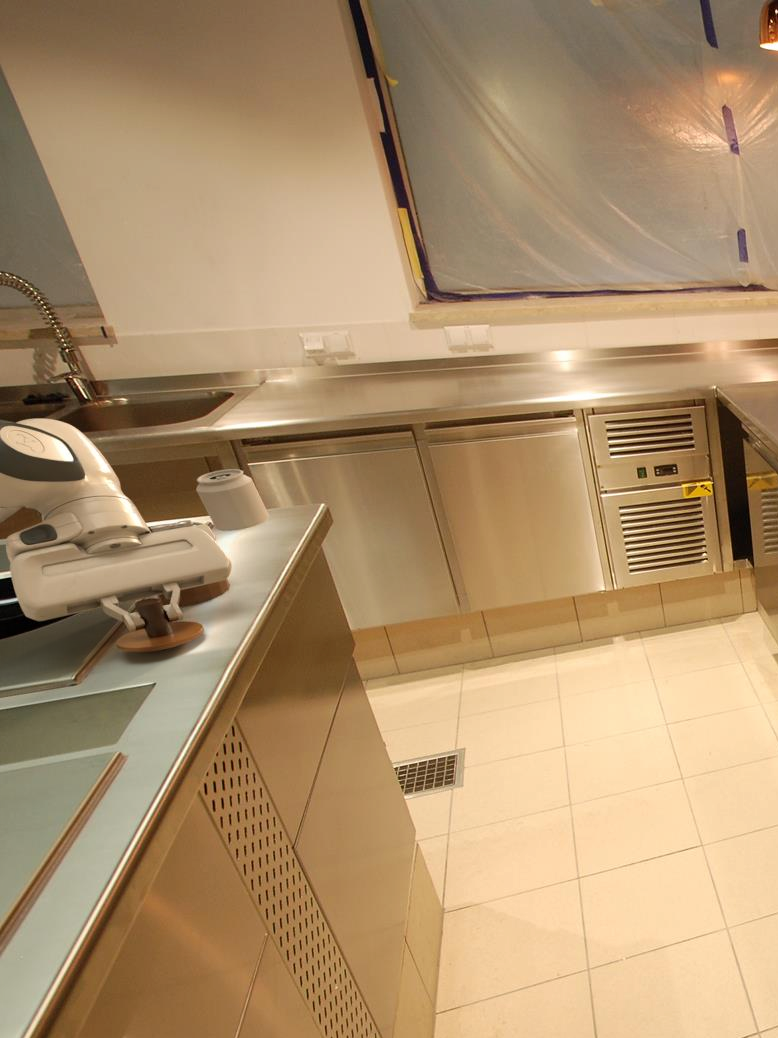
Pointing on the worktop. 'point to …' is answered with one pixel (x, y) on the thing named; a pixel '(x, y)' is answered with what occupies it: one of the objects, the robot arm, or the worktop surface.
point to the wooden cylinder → (198, 594)
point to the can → (231, 500)
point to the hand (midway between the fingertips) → (157, 623)
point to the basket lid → (158, 630)
